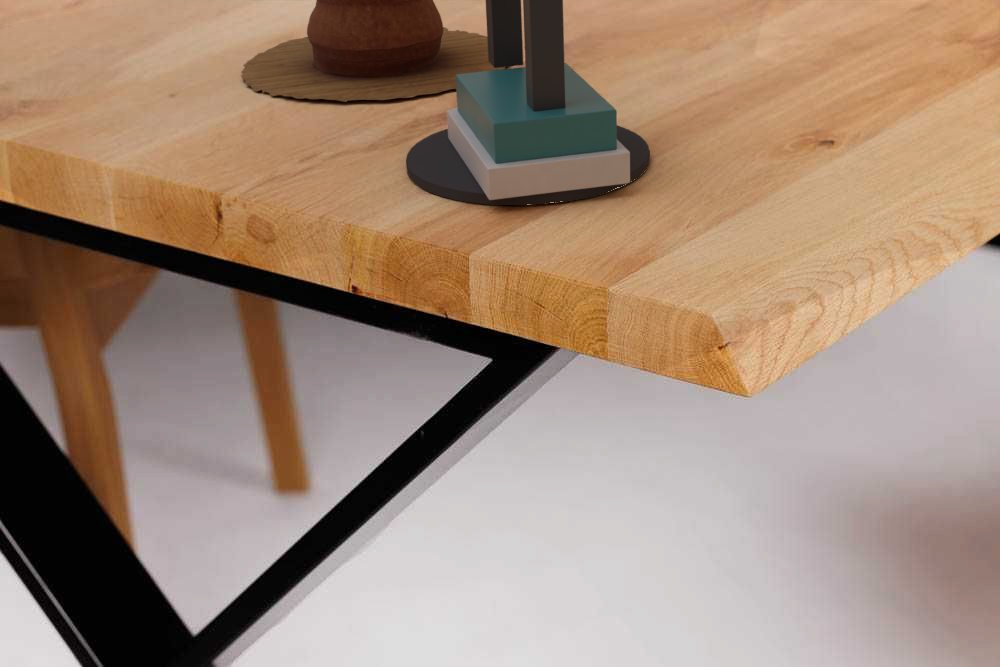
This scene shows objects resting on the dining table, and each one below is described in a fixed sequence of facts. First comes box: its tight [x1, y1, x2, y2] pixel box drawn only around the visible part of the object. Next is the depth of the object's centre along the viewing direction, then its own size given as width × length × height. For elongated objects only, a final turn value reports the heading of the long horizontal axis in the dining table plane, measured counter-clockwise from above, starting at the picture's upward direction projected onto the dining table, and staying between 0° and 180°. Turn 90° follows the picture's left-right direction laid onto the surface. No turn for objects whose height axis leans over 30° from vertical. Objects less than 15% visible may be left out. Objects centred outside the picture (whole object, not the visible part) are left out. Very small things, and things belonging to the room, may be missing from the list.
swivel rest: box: [405, 125, 651, 206], centre depth 75 cm, size 13×13×1 cm
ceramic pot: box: [240, 0, 506, 103], centre depth 92 cm, size 18×18×7 cm
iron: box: [446, 0, 631, 200], centre depth 72 cm, size 13×7×12 cm, turn 13°
